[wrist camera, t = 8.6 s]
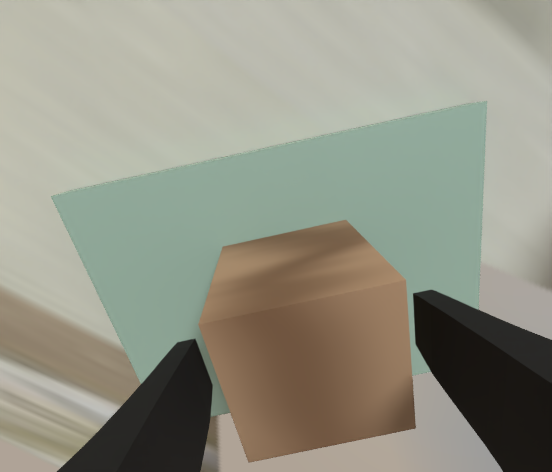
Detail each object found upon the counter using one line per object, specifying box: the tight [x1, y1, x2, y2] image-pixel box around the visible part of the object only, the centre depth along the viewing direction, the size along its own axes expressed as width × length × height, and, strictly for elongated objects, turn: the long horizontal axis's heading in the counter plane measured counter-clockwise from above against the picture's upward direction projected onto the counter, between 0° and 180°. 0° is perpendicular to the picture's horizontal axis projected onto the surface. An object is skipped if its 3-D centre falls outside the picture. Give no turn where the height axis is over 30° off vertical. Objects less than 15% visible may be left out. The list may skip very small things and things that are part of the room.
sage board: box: [51, 101, 487, 417], centre depth 13 cm, size 16×12×1 cm
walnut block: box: [198, 220, 416, 462], centre depth 10 cm, size 5×5×5 cm
